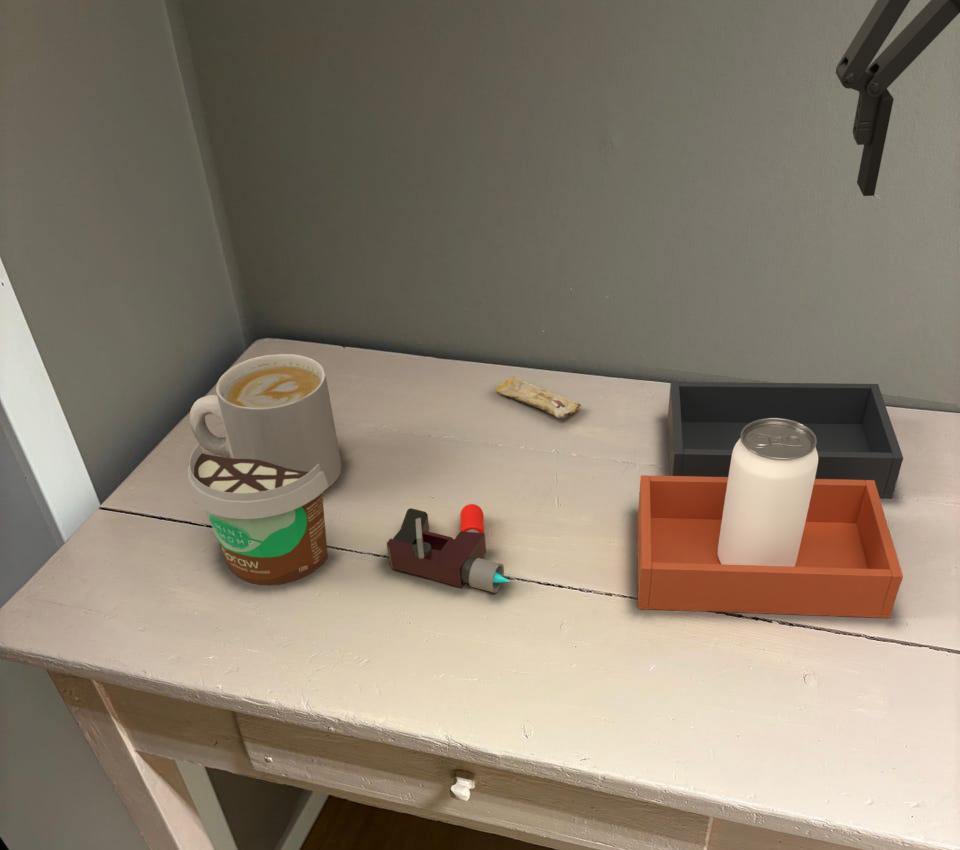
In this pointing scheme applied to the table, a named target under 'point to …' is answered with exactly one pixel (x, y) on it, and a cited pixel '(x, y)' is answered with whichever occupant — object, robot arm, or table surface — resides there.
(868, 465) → the grey bin
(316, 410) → the coffee mug
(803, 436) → the can
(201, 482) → the food container
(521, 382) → the snack bar
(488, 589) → the toy gun
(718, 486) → the terracotta bin
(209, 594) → the table surface
